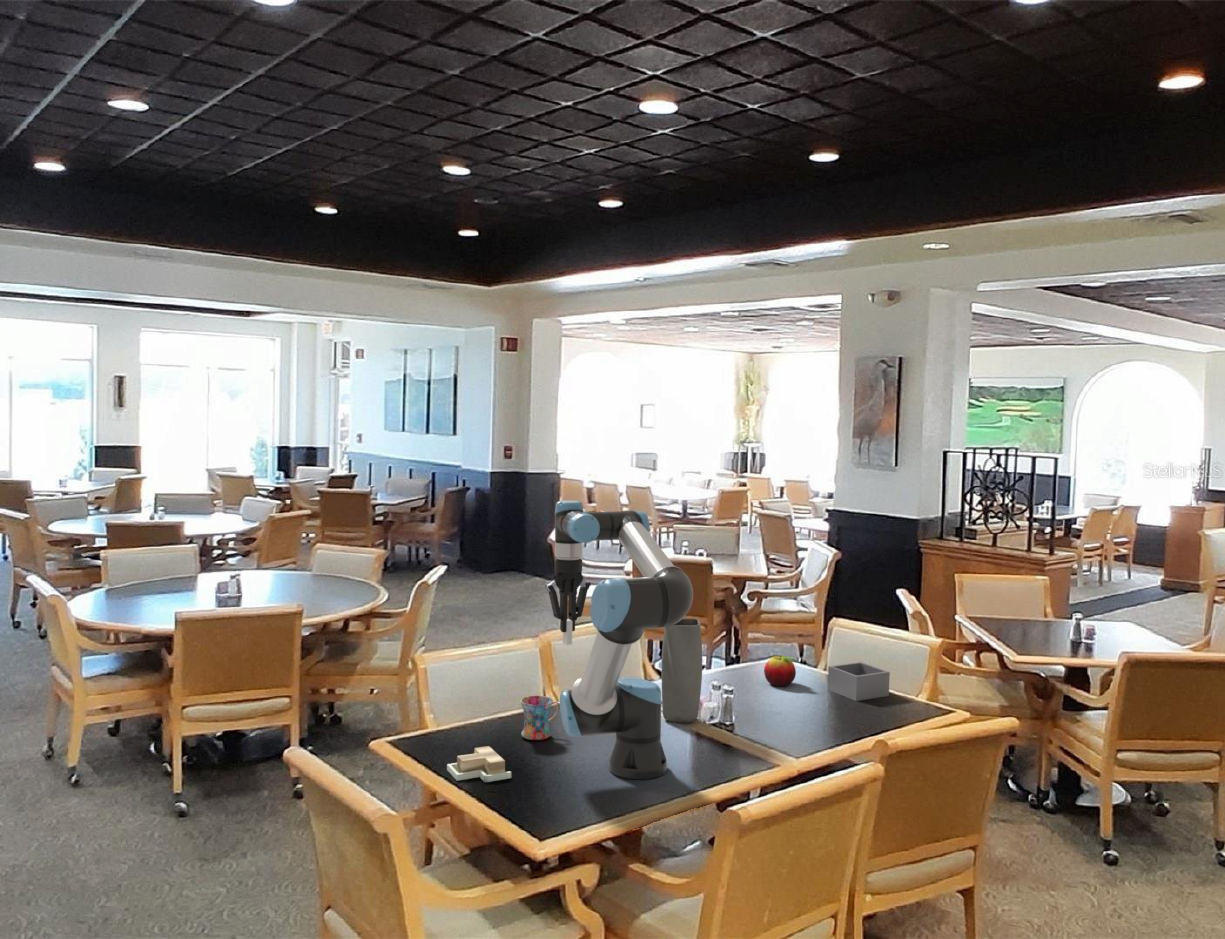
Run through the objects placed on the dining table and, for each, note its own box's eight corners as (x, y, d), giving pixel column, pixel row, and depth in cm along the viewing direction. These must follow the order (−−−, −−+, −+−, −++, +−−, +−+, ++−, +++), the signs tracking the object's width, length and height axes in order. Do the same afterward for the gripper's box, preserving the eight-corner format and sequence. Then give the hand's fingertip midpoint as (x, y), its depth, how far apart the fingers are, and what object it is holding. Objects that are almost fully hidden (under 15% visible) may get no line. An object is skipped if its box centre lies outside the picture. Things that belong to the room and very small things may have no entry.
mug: (528, 744, 273) (529, 707, 272) (514, 735, 281) (514, 698, 280) (566, 737, 279) (567, 701, 279) (551, 728, 287) (552, 692, 287)
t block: (504, 776, 250) (505, 761, 250) (467, 782, 245) (467, 766, 245) (488, 761, 260) (488, 746, 260) (452, 766, 256) (452, 751, 256)
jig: (511, 778, 249) (511, 772, 248) (461, 786, 243) (461, 780, 242) (489, 757, 263) (489, 752, 263) (442, 764, 257) (442, 759, 257)
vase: (656, 724, 292) (658, 624, 290) (664, 712, 304) (666, 616, 302) (697, 728, 289) (699, 627, 287) (703, 715, 301) (705, 618, 299)
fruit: (777, 678, 344) (778, 650, 344) (802, 685, 336) (803, 656, 335) (757, 683, 338) (757, 654, 337) (781, 690, 329) (782, 661, 329)
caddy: (888, 695, 325) (889, 672, 325) (855, 701, 319) (856, 676, 318) (860, 685, 338) (860, 662, 337) (827, 689, 331) (828, 666, 331)
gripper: (583, 554, 274) (582, 638, 275) (540, 557, 267) (540, 642, 269) (596, 558, 267) (595, 644, 268) (552, 561, 261) (551, 649, 262)
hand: (567, 643), depth 269 cm, fingers closed
